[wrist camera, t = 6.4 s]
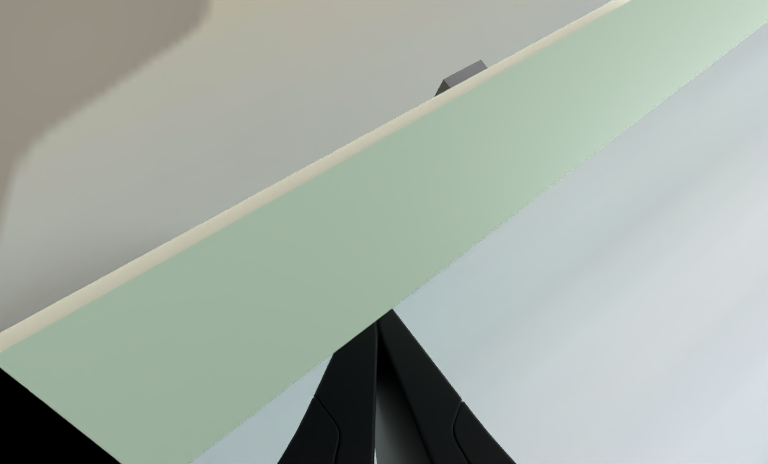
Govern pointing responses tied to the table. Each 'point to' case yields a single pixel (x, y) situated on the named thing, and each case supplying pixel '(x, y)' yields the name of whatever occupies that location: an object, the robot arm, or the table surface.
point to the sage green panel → (335, 243)
